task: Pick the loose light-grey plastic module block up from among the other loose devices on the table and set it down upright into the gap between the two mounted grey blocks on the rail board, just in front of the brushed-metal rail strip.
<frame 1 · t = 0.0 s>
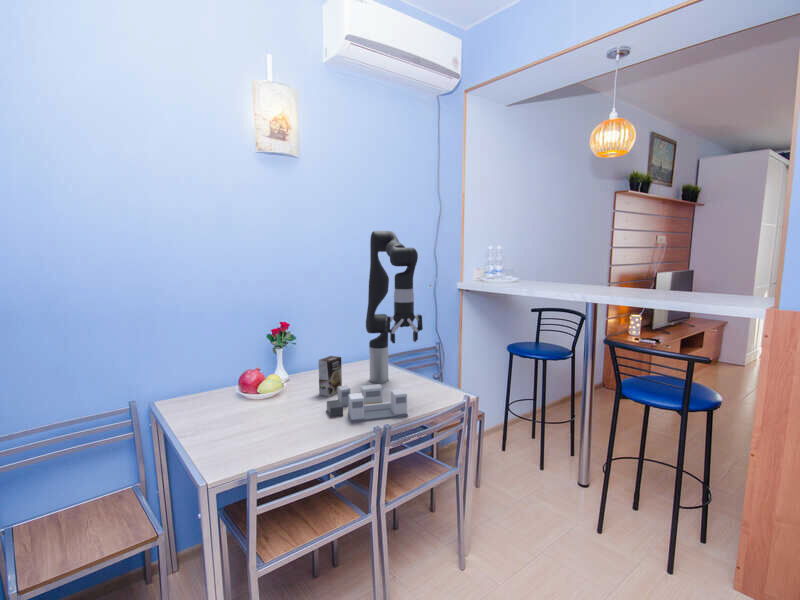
hand: (404, 342, 160), 29 cm above the table, fingers open, 8 cm apart
loose module: (372, 405, 174), on the table
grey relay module: (344, 403, 176), on the table
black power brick: (334, 413, 166), on the table
coffee box: (330, 393, 189), on the table
rail mount: (377, 415, 164), on the table
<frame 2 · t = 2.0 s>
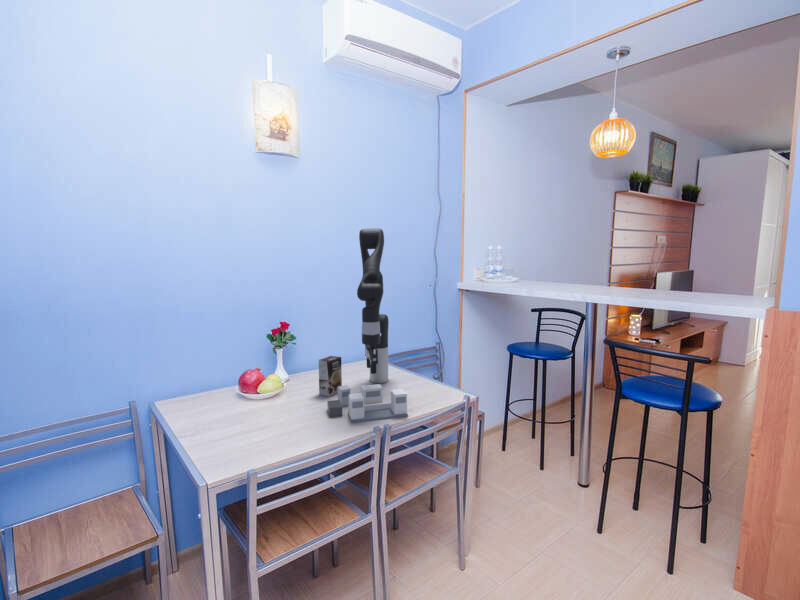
hand: (371, 370, 172), 15 cm above the table, fingers open, 8 cm apart
nothing on the table moved.
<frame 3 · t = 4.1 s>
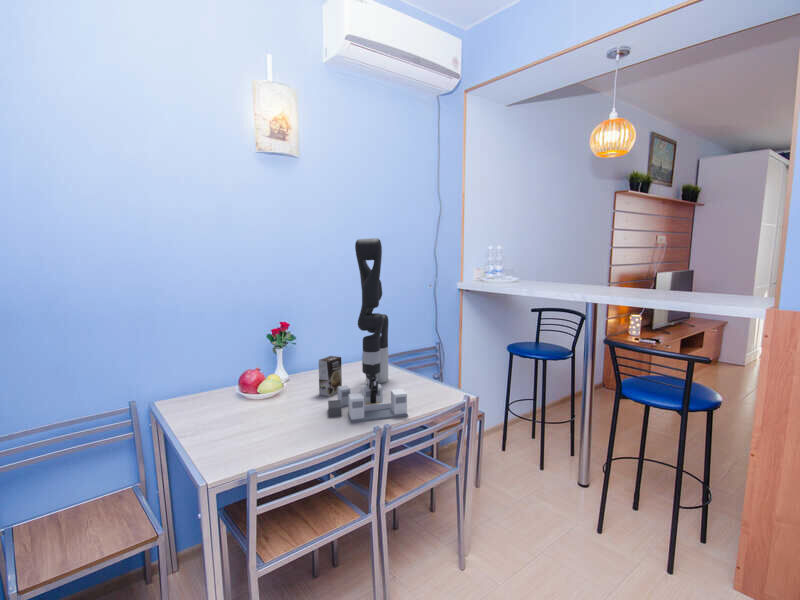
hand: (371, 400, 174), 2 cm above the table, fingers closed on loose module, 5 cm apart
loose module: (372, 405, 174), on the table, touching gripper
everything else where it was.
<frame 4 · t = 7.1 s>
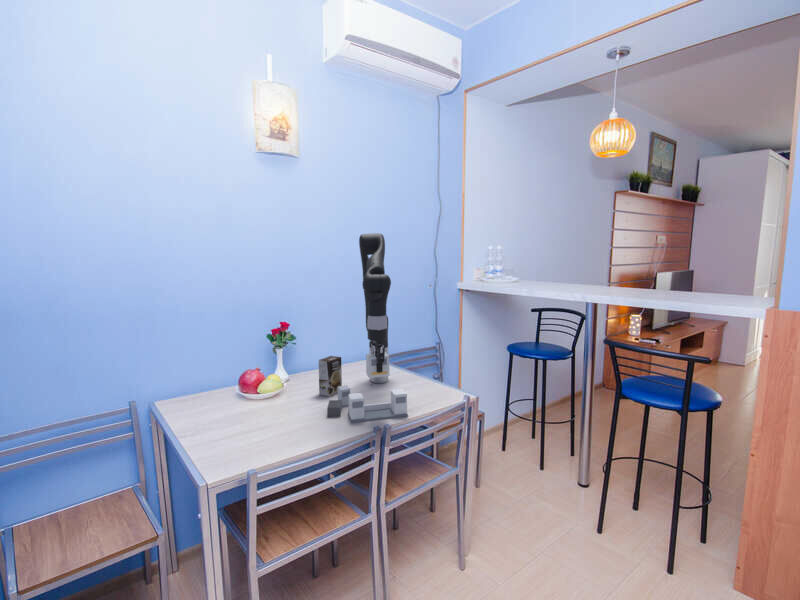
hand: (377, 369, 160), 19 cm above the table, fingers closed on loose module, 5 cm apart
loose module: (377, 374, 160), point 17 cm above the table, touching gripper
everything else where it was.
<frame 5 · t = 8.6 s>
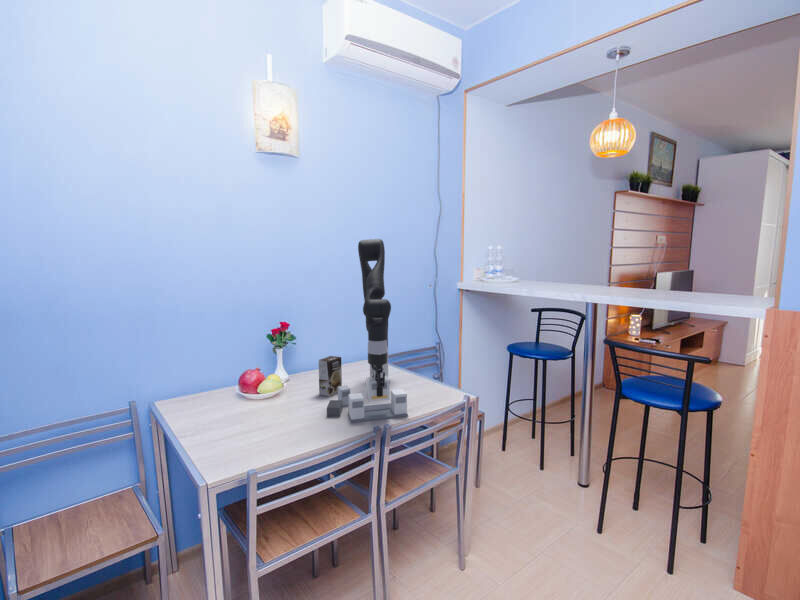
hand: (378, 393, 161), 9 cm above the table, fingers closed on loose module, 5 cm apart
loose module: (378, 398, 161), point 7 cm above the table, touching gripper
everything else where it was.
when the fingers open (4 cm above the table, at t = 10.1 s): loose module drops 1 cm, resting on rail mount.
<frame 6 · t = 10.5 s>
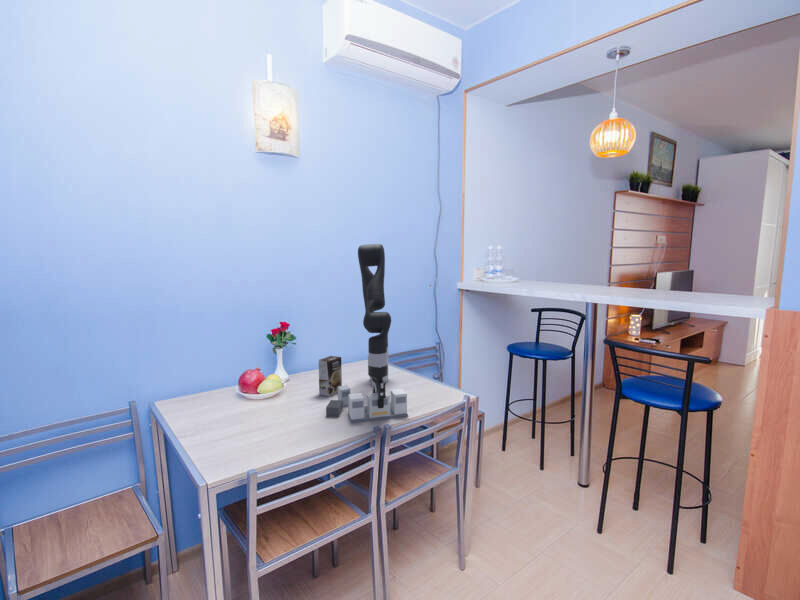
hand: (378, 403, 161), 5 cm above the table, fingers open, 8 cm apart
loose module: (378, 414, 162), point 1 cm above the table, touching rail mount
everything else where it was.
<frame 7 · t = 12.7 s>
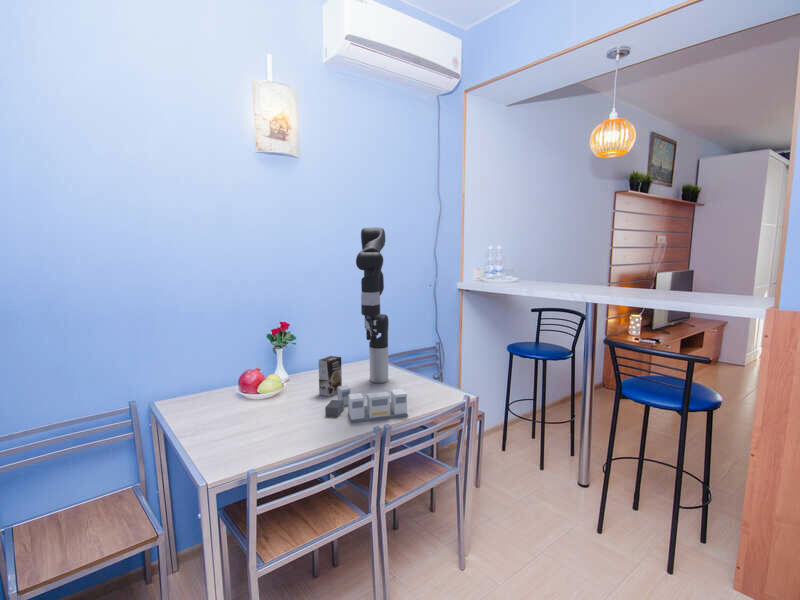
hand: (371, 342, 167), 28 cm above the table, fingers open, 8 cm apart
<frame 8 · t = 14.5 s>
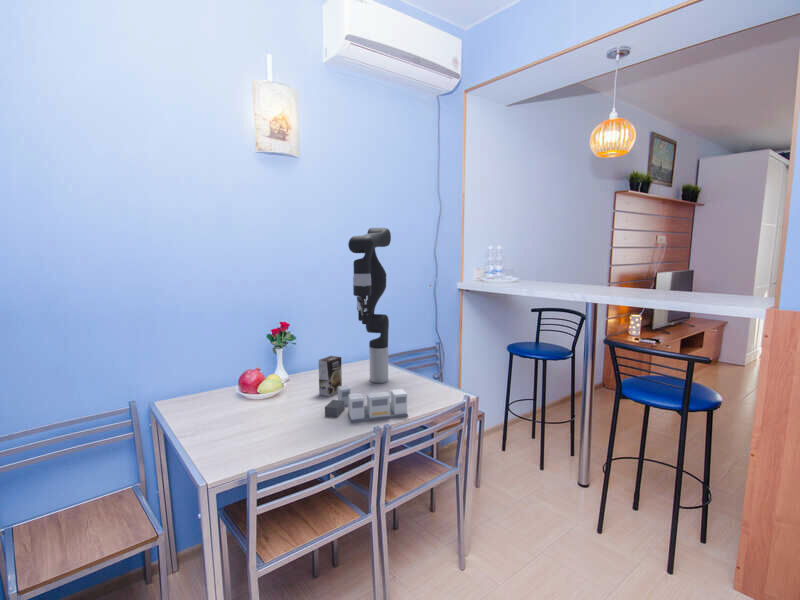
hand: (362, 322, 176), 34 cm above the table, fingers open, 8 cm apart
at the end: loose module inside the target area on the rail mount (0.2 cm from its centre), point 0.8 cm above the rail mount's base; loose module tilted 0°; the gripper is holding nothing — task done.
